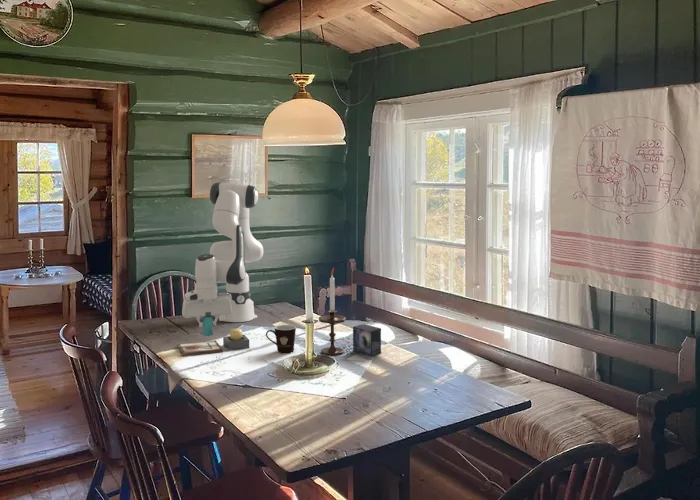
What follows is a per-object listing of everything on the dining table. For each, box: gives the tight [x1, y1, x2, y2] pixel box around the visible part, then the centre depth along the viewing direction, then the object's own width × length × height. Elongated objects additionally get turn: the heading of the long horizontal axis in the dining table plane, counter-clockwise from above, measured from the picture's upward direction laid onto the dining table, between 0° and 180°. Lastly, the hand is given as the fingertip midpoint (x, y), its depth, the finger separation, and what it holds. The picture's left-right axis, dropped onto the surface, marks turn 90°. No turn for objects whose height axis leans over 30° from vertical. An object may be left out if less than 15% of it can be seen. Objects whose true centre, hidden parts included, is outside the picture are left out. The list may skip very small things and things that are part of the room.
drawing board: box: [176, 339, 224, 357], centre depth 278 cm, size 15×16×1 cm
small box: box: [352, 323, 382, 357], centre depth 273 cm, size 11×6×10 cm, turn 44°
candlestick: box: [318, 267, 347, 357], centre depth 271 cm, size 11×11×35 cm
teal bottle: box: [202, 312, 214, 337], centre depth 282 cm, size 4×4×10 cm
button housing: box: [222, 334, 250, 351], centre depth 283 cm, size 9×9×4 cm
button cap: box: [229, 328, 243, 341], centre depth 282 cm, size 5×5×4 cm
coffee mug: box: [265, 324, 297, 355], centre depth 275 cm, size 12×9×10 cm
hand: (207, 326), depth 282 cm, fingers closed on teal bottle, 4 cm apart
